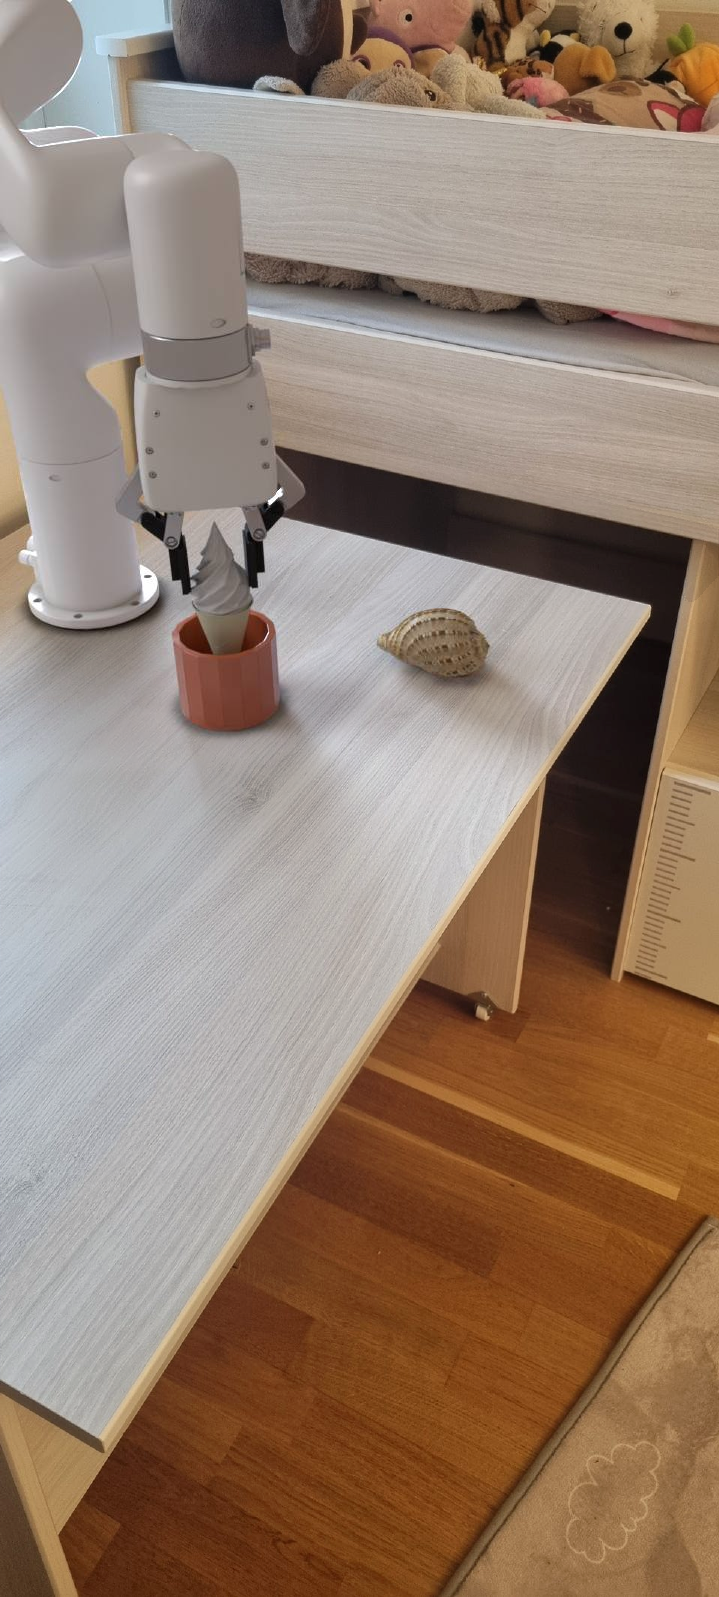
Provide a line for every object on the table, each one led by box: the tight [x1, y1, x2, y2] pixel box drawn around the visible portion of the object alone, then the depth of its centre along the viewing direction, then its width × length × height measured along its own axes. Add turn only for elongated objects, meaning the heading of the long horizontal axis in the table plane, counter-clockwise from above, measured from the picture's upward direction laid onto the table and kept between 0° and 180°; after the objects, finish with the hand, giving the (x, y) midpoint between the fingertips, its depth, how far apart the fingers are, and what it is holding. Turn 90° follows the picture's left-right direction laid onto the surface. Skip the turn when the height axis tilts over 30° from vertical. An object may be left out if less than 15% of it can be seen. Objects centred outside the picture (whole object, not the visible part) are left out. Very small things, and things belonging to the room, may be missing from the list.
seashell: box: [376, 607, 491, 679], centre depth 106 cm, size 8×6×10 cm
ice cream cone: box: [190, 520, 255, 655], centre depth 97 cm, size 5×5×15 cm
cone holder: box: [171, 609, 281, 732], centre depth 100 cm, size 8×8×7 cm
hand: (218, 581), depth 95 cm, fingers closed on ice cream cone, 4 cm apart
